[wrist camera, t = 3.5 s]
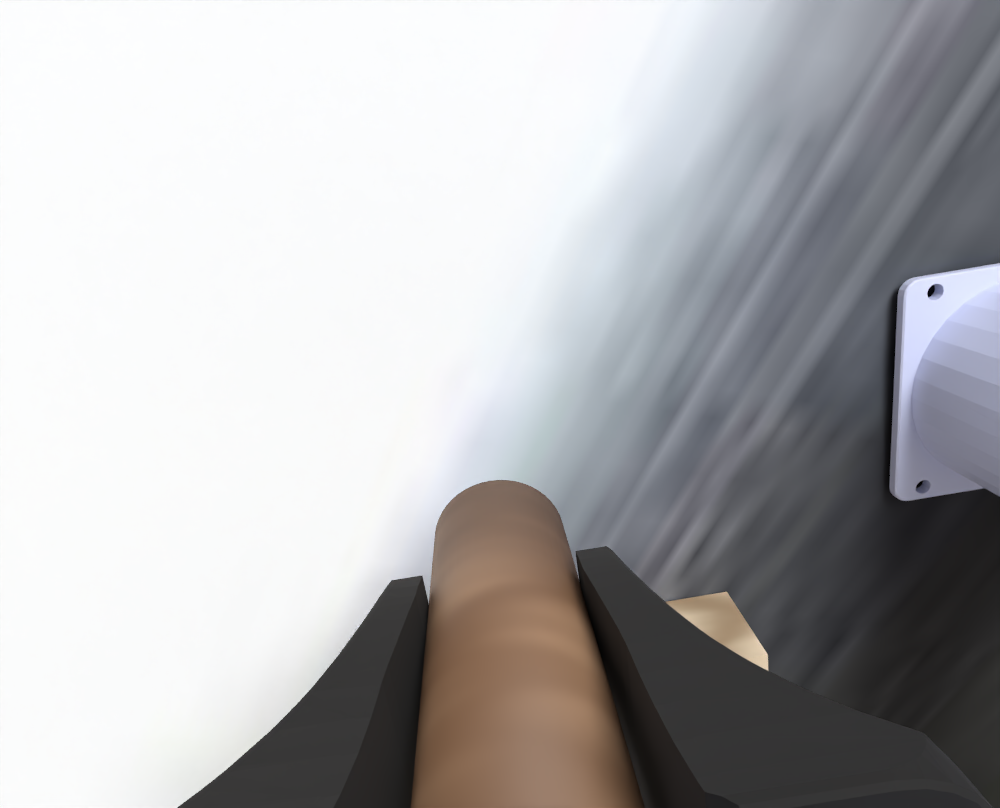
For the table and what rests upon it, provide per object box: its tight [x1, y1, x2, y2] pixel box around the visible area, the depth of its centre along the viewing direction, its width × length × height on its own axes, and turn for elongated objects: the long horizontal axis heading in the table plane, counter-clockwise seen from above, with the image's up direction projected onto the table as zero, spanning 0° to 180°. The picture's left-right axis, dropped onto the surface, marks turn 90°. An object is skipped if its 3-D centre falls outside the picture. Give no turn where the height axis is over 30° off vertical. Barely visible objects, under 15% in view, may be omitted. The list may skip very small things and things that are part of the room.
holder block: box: [666, 592, 768, 671], centre depth 25 cm, size 12×12×4 cm
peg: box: [411, 480, 645, 808], centre depth 11 cm, size 3×3×8 cm
